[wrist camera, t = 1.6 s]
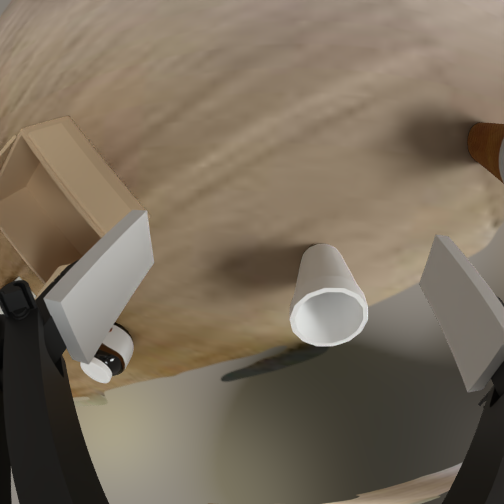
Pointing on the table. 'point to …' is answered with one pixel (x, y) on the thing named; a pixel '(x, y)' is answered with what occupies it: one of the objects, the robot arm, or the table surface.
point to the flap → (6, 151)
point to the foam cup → (326, 299)
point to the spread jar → (110, 355)
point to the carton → (58, 196)
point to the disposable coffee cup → (488, 147)
